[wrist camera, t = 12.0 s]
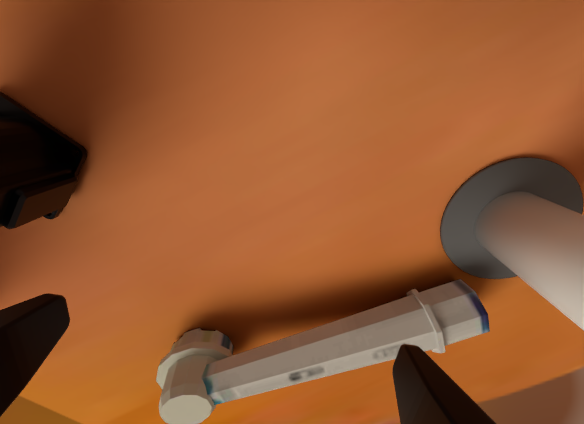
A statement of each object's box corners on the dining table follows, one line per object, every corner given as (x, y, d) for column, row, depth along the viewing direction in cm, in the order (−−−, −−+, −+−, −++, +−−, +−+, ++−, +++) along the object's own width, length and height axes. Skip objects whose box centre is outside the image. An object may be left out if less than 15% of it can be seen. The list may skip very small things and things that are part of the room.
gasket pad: (413, 230, 20) (414, 232, 20) (522, 127, 17) (525, 128, 17) (495, 296, 22) (498, 299, 22) (607, 212, 19) (612, 214, 19)
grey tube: (495, 354, 19) (157, 462, 20) (439, 295, 26) (183, 379, 26) (489, 294, 18) (118, 415, 18) (430, 247, 24) (156, 338, 25)
